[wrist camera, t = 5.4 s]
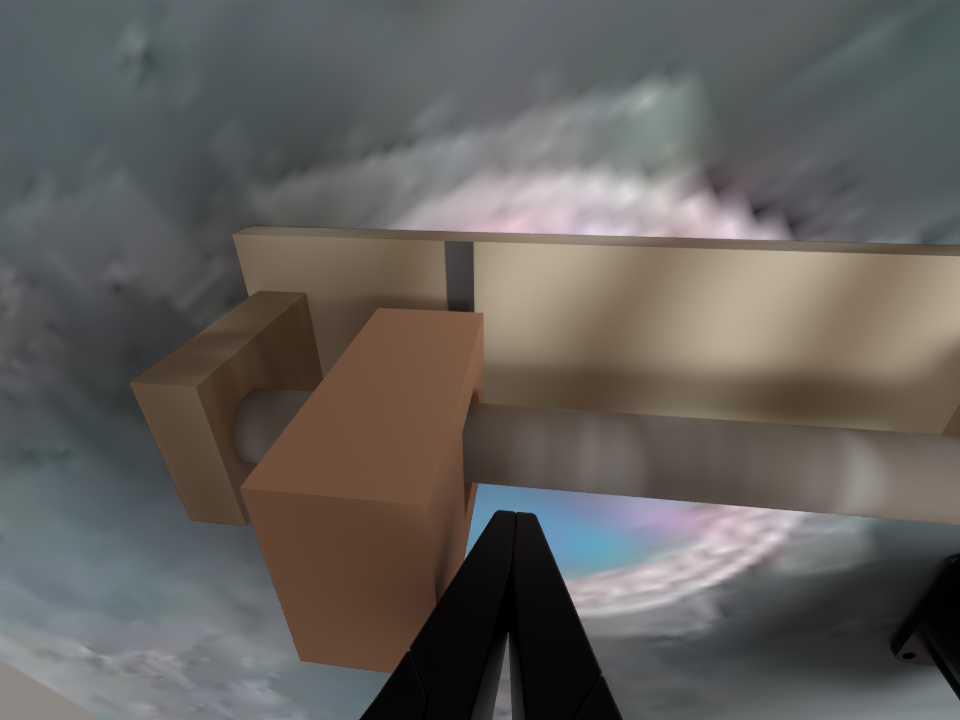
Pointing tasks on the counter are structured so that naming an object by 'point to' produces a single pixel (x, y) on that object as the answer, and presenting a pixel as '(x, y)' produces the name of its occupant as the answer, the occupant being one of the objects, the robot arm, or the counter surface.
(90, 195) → the counter surface
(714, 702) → the counter surface
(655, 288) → the pipe stand
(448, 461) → the brown block with hole
